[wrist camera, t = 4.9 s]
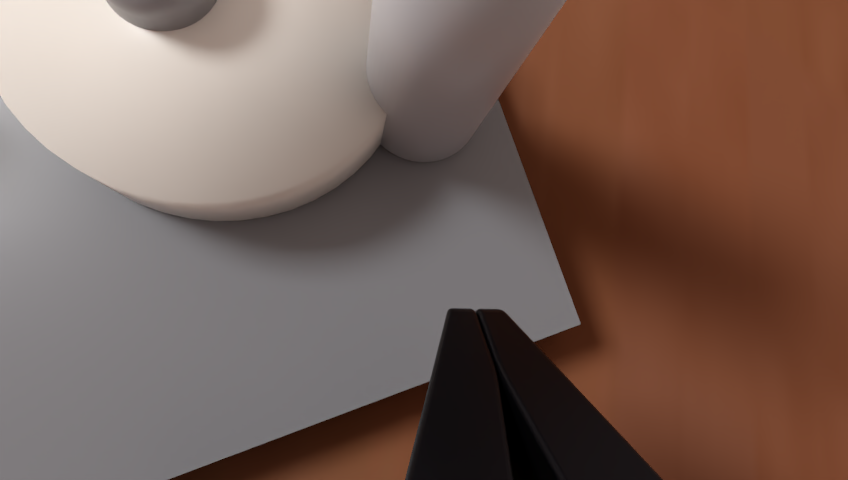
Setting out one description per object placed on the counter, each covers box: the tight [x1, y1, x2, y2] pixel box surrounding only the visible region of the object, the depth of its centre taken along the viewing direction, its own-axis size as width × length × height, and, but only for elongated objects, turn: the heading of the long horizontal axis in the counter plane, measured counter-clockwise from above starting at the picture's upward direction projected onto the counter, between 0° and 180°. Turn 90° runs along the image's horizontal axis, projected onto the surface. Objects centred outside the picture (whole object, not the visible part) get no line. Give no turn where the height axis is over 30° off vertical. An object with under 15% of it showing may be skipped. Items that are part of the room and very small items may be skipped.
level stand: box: [0, 96, 581, 480], centre depth 12 cm, size 16×16×5 cm
